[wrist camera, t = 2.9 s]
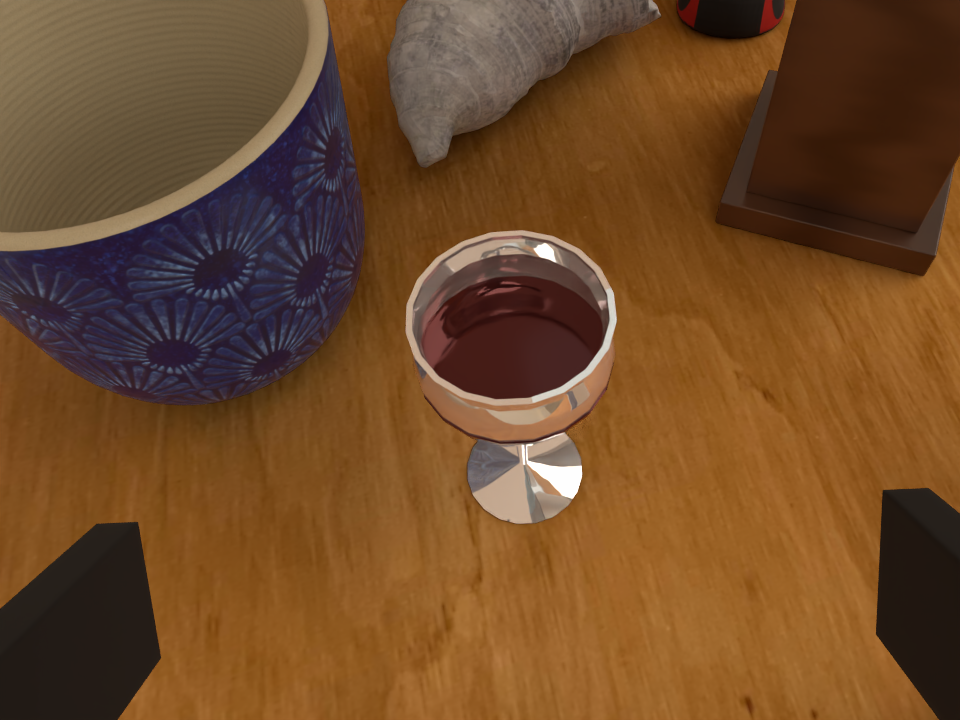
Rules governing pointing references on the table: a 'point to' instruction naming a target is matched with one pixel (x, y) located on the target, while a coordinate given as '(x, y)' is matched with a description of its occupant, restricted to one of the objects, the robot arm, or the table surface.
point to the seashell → (488, 58)
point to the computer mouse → (731, 16)
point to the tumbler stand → (855, 133)
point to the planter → (175, 190)
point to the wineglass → (514, 362)
